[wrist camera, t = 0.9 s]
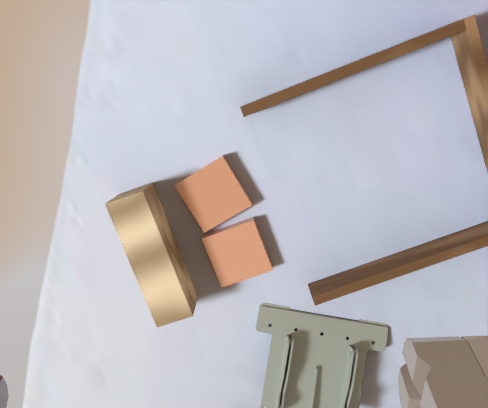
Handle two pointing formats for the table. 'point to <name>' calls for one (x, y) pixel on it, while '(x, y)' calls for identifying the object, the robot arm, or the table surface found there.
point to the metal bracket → (316, 358)
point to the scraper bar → (153, 254)
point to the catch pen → (484, 115)
